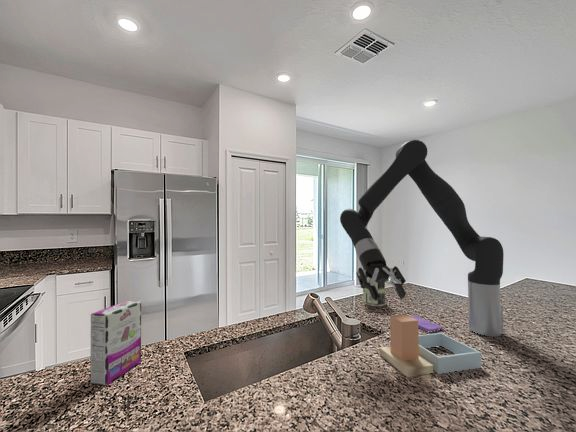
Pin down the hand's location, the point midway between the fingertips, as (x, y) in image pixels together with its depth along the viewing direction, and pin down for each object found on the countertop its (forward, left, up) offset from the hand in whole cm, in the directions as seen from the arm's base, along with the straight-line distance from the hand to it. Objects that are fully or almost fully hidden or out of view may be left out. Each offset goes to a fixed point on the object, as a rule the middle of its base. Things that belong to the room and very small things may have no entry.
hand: (390, 298), depth 79 cm
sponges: (-24, -17, -16) cm, 34 cm away
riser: (0, +6, -16) cm, 17 cm away
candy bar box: (+74, -6, -16) cm, 76 cm away
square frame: (-11, +6, -16) cm, 20 cm away
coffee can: (-22, -46, -16) cm, 54 cm away
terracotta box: (0, +6, -14) cm, 15 cm away
